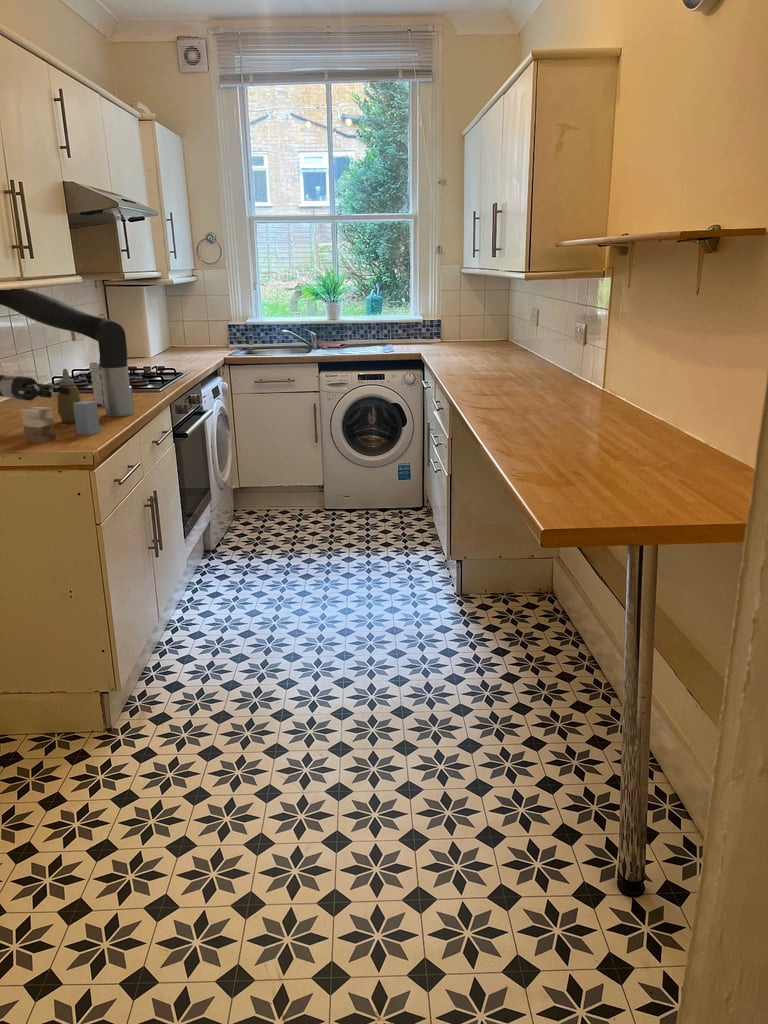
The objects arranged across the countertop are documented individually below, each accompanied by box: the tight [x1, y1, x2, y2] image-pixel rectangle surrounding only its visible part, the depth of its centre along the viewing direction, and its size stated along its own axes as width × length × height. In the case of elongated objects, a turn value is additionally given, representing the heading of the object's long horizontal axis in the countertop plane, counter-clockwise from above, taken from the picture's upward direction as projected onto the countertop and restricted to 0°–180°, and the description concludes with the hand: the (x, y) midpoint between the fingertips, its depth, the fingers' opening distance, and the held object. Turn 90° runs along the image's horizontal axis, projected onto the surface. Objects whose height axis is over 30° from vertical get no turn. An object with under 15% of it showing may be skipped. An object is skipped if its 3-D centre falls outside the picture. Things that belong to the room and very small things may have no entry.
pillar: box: [73, 400, 101, 436], centre depth 247 cm, size 5×5×10 cm
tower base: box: [23, 424, 57, 445], centre depth 237 cm, size 6×6×5 cm
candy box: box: [89, 360, 131, 407], centre depth 300 cm, size 14×6×16 cm, turn 149°
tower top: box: [20, 406, 55, 428], centre depth 236 cm, size 6×6×5 cm
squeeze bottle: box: [57, 368, 82, 424], centre depth 264 cm, size 8×8×18 cm
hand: (60, 392), depth 248 cm, fingers open, 8 cm apart
